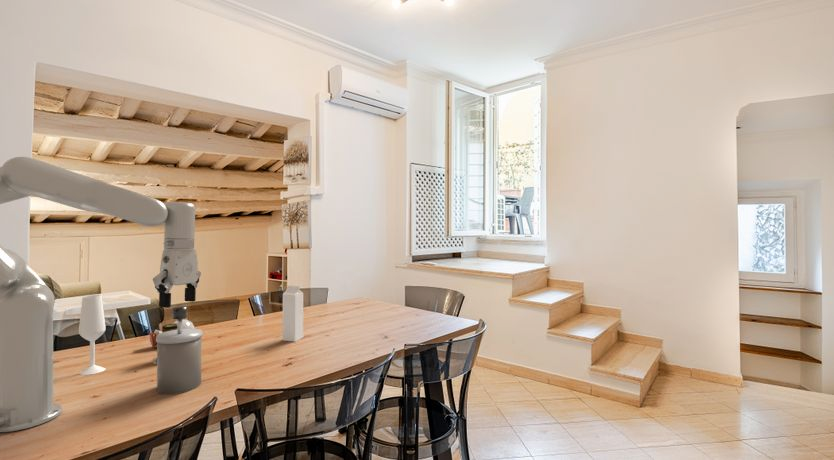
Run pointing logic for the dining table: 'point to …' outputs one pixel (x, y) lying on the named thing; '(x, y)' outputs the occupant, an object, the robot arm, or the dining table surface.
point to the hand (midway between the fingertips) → (177, 304)
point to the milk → (292, 314)
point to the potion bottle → (185, 323)
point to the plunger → (179, 316)
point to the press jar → (178, 361)
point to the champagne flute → (92, 327)
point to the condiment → (164, 329)
